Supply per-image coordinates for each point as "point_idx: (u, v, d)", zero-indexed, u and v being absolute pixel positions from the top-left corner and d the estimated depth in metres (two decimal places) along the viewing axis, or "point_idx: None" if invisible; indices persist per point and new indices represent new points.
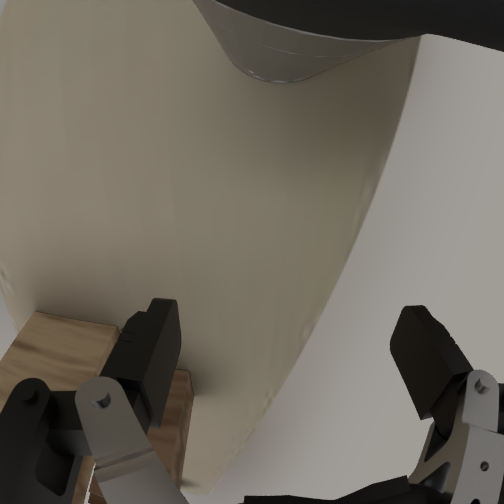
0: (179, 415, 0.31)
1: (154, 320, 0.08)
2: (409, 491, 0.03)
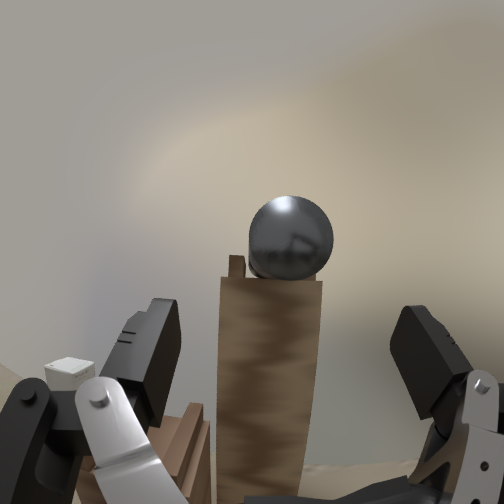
0: None
1: (154, 320, 0.08)
2: (409, 491, 0.03)
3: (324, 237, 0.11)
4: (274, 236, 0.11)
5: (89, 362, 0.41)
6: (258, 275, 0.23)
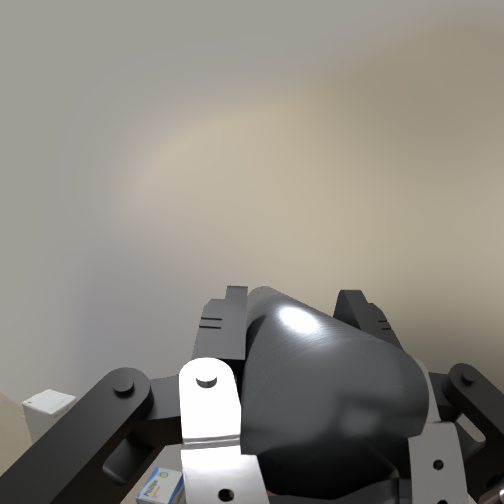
0: None
1: (236, 305, 0.09)
2: None
3: (410, 420, 0.04)
4: (301, 437, 0.04)
5: (70, 397, 0.34)
6: None
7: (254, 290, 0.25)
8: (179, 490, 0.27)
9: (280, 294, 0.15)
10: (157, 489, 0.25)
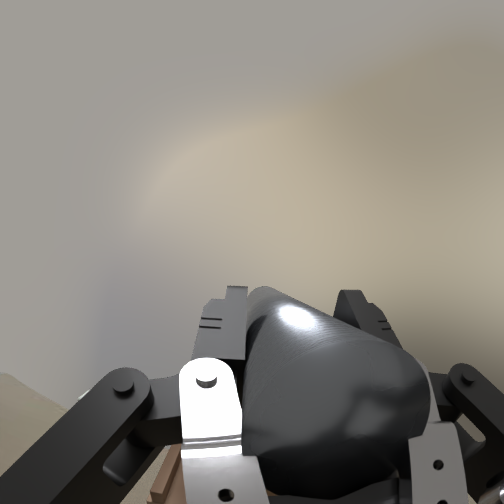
0: None
1: (236, 305, 0.09)
2: None
3: (412, 420, 0.04)
4: (302, 438, 0.04)
5: None
6: None
7: (254, 290, 0.25)
8: None
9: (281, 294, 0.15)
10: None
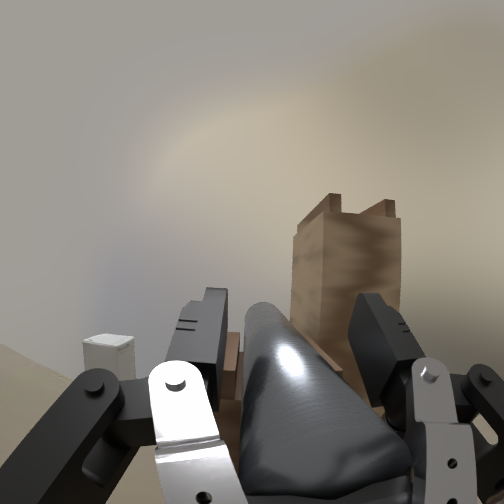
0: None
1: (213, 307, 0.09)
2: (373, 503, 0.03)
3: None
4: None
5: (129, 337, 0.44)
6: None
7: (253, 307, 0.25)
8: None
9: (279, 322, 0.15)
10: None
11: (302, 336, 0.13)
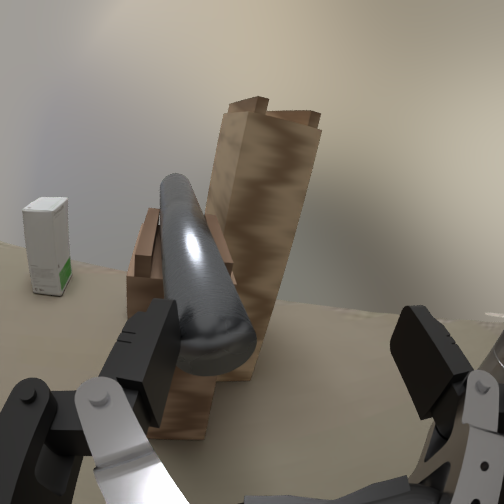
0: (210, 404, 0.24)
1: (154, 320, 0.08)
2: (409, 491, 0.03)
3: (246, 346, 0.11)
4: (195, 349, 0.10)
5: (63, 198, 0.42)
6: None
7: (168, 179, 0.27)
8: None
9: (189, 208, 0.19)
10: None
11: (205, 225, 0.18)
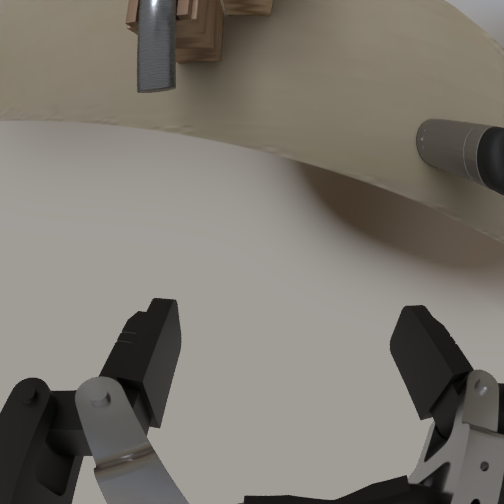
0: (214, 49, 0.32)
1: (154, 320, 0.08)
2: (409, 491, 0.03)
3: (170, 87, 0.21)
4: (148, 90, 0.21)
5: None
6: None
7: None
8: None
9: None
10: None
11: None
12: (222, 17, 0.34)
